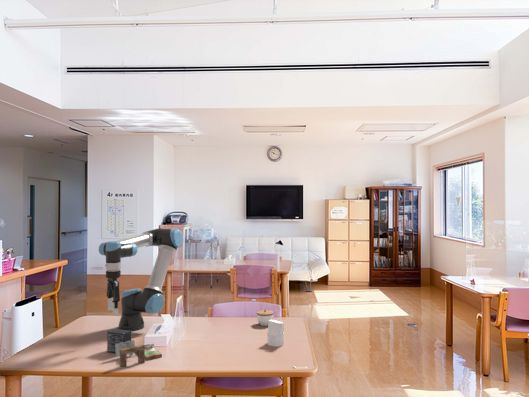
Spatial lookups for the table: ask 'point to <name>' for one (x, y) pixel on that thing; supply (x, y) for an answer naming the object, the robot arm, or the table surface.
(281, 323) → the white upright cylinder
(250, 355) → the table surface
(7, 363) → the table surface
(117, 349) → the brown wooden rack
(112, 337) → the small box
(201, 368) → the table surface
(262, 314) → the lidded jar
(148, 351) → the gauge bench
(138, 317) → the robot arm
